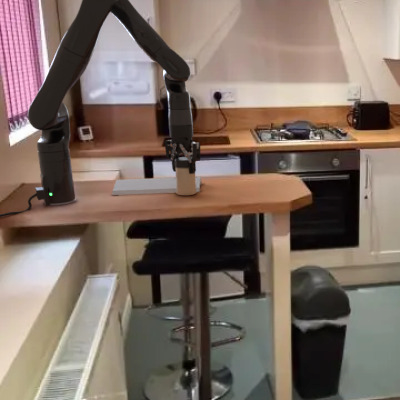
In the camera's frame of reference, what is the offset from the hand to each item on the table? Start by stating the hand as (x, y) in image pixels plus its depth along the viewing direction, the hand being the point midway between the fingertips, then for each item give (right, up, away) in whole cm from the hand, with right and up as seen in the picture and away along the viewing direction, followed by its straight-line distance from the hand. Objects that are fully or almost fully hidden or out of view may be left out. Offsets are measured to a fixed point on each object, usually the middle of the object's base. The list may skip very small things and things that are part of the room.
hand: (184, 172), depth 199 cm
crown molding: (-11, -6, +10) cm, 16 cm away
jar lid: (0, +4, 0) cm, 4 cm away
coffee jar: (0, -7, +2) cm, 7 cm away
